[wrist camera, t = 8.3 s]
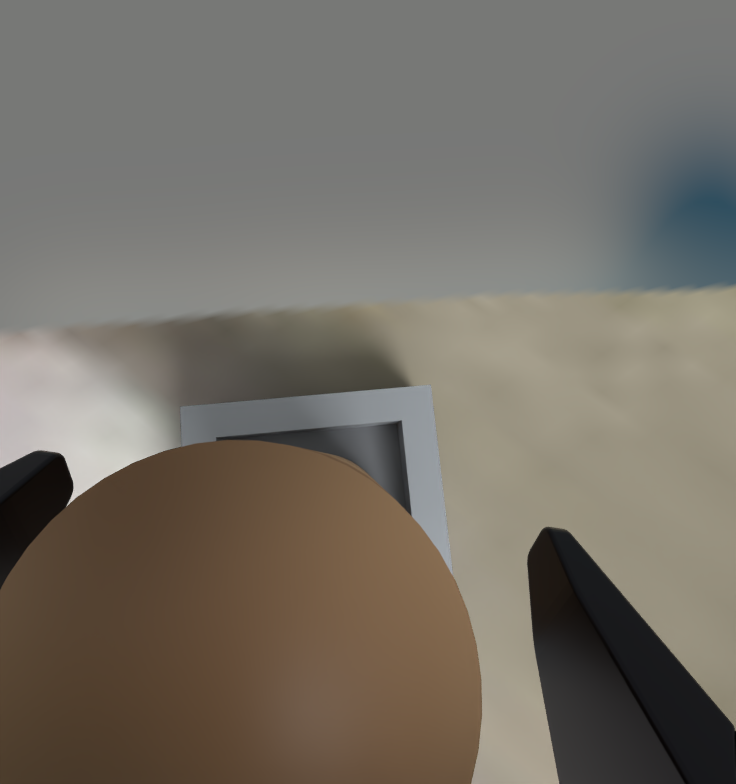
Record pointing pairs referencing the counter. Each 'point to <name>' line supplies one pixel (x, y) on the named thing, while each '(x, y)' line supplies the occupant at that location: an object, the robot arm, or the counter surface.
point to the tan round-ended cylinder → (236, 631)
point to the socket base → (347, 440)
